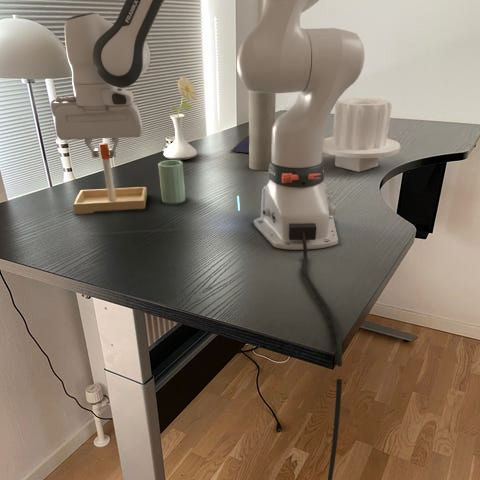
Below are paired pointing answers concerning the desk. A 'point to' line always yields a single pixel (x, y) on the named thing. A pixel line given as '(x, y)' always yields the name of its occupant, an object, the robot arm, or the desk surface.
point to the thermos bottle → (260, 129)
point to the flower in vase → (180, 146)
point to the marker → (107, 171)
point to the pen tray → (100, 201)
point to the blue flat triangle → (242, 146)
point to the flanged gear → (360, 133)
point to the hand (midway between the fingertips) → (104, 156)
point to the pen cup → (172, 181)
